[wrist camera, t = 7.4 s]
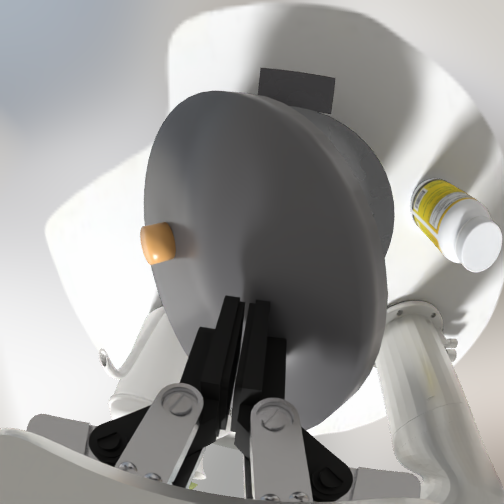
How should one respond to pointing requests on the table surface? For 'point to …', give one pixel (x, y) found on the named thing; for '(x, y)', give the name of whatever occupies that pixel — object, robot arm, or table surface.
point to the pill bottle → (456, 224)
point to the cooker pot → (335, 137)
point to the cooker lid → (267, 239)
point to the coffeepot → (146, 366)
